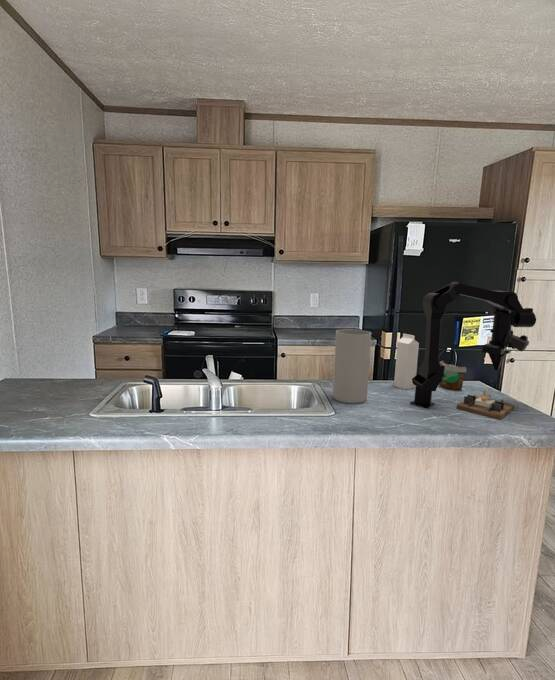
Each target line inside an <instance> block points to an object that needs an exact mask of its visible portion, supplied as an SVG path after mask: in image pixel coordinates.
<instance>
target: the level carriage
mask: <svg viewBox="0 0 555 680" xmlns="http://www.w3.org/2000/svg"><path fill="white" fill-rule="evenodd" d="M492 390H493V389H492V387H491V388H490V387H483V393H482V395H481V396H482V397H481V396H479V398H478V399H476V400H475V405H479V406H483V407H487V408H489V407H491V406H492V403H495V400H496V399H492ZM491 399H492V400H491Z"/></svg>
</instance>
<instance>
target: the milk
mask: <svg viewBox="0 0 555 680" xmlns="http://www.w3.org/2000/svg"><path fill="white" fill-rule="evenodd" d="M419 346H420V343H419V342H418V340H416V339H415V335H413V334H407V333H402V337H401V338H399V340H397V343H396V355H395V368H394V369H395V370H394V381H393V387H395V386H396V387H395V388H398V387H399V389H401V388H402V389H401V390H404V389H407V390H411V388H413V389H415V388H416V386H415V385H414V384H413V382H412V378H414V377H415V376H416V375H417V372H418V371H417V370H418V358H419V350H420V349H419Z"/></svg>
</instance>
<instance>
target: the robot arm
mask: <svg viewBox="0 0 555 680" xmlns="http://www.w3.org/2000/svg"><path fill="white" fill-rule="evenodd" d="M459 295H460V296H465V297H469V298H473V299H477V300H482V301H484V302H487V303H488V304H491V305H492V306H494V307H492V308H491V309H490V310H489V311H488V312H487V314H490V315H493V320H492V321H493V322H492V328H491V329H490V331H489V333H491V338H490V340H489V342H488V343H485V344H483V345H482V346H481V350H480V352H481V353H482V354H483V353H485V354H488V356H489V358H490V360H491V363H492V366H493V369H494V371H499V370H500V368H501V366H502V363H503V361H504V359H505V357H506V356H507V355H508V354H510V353H511V352H512V350H517V351H519V352H524V351H526V349H527V347H528V346H529V345H530V341H529V339H528V338H529V337H528V335H525V334H523V335H520V336H518V335H516V334H515V335H514V331H513V329H512V327H514V328H533V327H534V326H535V325H536V323H537V317H536V314H535V312H534V308H532V307H523V306H522V304H521V302H520V300H519V297H518V293H516V292H514V291H506V290H492V289H491V290H490V289H488V288H487V289H486V288H482V287H477V286H473V285H469V284H465V283H463V282H461V281H460V282H457V281H451V282H450V283H449V284H447V285H445V286H443V287H441V288H439V289H436V290H434V292H429V293H427V294H425V295H424V296H423V298H422V309H423V312H424V316H425V318H426V321H425V322H426V323H425V324H426V325H425V343H424V345H425V347H424V359H423V360H422V362H421V364H420V366H419V371H418V373H416V376H415V377H414V378H412V382H413V384H414V385H415V388H414V399H413V400H412V401H410V402H409V404H410V405H414V406H416V407H422V408H425V409H429V408H430V407H432V406H434V405H435V404H436V403H435V402H432V399H433V392H436V391H437V388H438V387H439V386H440V383H441V382H442V379H443V377H445V376H444V369H445V366H444V365H442V364H440V359H439V357H440V343H441V329H442V328H441V327H442V324H441V323H442V319H443V318H444V315H445V313H446V311H447V307H448V304H450V303H452V302H454V300H455V299H456V298H457V297H458V296H459ZM500 308H501V309H500ZM507 348H511V350H507Z"/></svg>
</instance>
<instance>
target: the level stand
mask: <svg viewBox="0 0 555 680" xmlns="http://www.w3.org/2000/svg"><path fill="white" fill-rule="evenodd" d="M482 396H483V395H481V396H479V395H475V394H474V395H472V394H467V396H466V395H465V396H464V398H463V400H462V401H461V402H459V403H457V404H456V409H457V410H460V411H465V412H468V413H472V414H476V415H480V416H483V417H487V418H491V419H496V420H502V419H504V417H506V416H507V415H509V414H510V413H511V412H513V410H515V409H516V404H515V403H509V402H505V401H504V398H502V399H500V400H496V399H494V400H495V403H492V406H491V407H489V408H487V407H483V406H479V405H475V400H476V399H478V398H479V397H482ZM491 400H493V399H492V398H491Z"/></svg>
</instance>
